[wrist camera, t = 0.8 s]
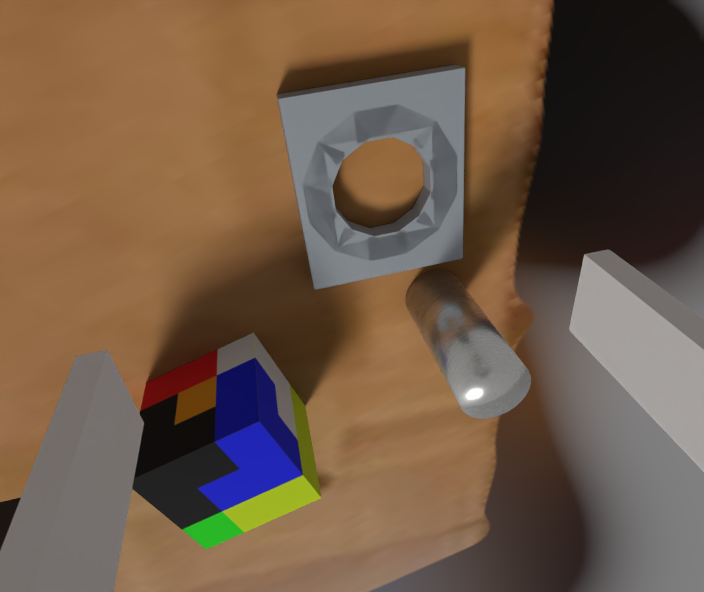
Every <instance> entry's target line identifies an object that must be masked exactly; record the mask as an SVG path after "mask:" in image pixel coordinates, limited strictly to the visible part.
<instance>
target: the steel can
mask: <svg viewBox="0 0 704 592" xmlns="http://www.w3.org/2000/svg"><path fill="white" fill-rule="evenodd" d="M405 301H406V306H407V308H408V310H409V312H410V314H411V316H412V318H413V320H414V321H415V323H416V325H417V327H418V329H419V331H420V333H421V334H422V336H423V338H424V340H425V342H426V344H427V346H428V347H429V349H430V351H431V353H432V355H433V357H434V358H435V360H436V362H437V364H438V366H439V368H440V370H441V371H442V373H443V375H444V377H445V379H446V381H447V383H448V384H449V386H450V388H451V390H452V392H453V394H454V395H455V397H456V399H457V401H458V403H459V405H460V407H461V408H462V410H463V411H464V412H465V413H466V414H467V415H469V416H471V417H474V418H481V419H483V418H492V417H496V416H499V415H501V414H504V413H506V412H508V411H509V410H511V409H512V408H514V407H515V406H516V405H518V403H520V402H521V401H522V400H523V398H524V397H525V395H526V394H527V392H528V390H529V387H530V384H531V376H530V373H529V371H528V370H527V368H526V367H525V366H524V365H523V363H522V362H521V360H520V359H519V358H518V357H517V355H516V354H515V353H514V351H513V350H512V349H511V347H510V346H509V345H508V343H507V342H506V341H505V339H504V338H503V337H502V336H501V334H500V333H499V332H498V330H497V329H496V328H495V326H494V325H493V324H492V322H491V321H490V320H489V319H488V317H487V316H486V315H485V313H484V312H483V311H482V309H481V308H480V307H479V305H478V304H477V303H476V302H475V300H474V299H473V298H472V296H471V295H470V294H469V292H468V291H467V290H466V288H465V287H464V286H463V285H462V283H461V282H460V281H459V279H458V278H457V277H456V276H455V275H454V274H453V273H451V272H449V271H446V270H432V271H429V272H426V273H424V274H422V275H421V276H419V277H418V278H416V279H415V280H414V281H413V282H412V284H411V285H410V287H409V288H408V290H407V293H406V300H405Z"/></svg>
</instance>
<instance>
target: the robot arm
mask: <svg viewBox="0 0 704 592" xmlns="http://www.w3.org/2000/svg"><path fill="white" fill-rule="evenodd" d="M569 330H570V331H571V332H572V333H573V335H574V336H575V337H576V338H577V339H578V340H579V341H580V342H581V343H582V344H583V345H584V346H585V347H586V348H587V349H588V350H589V351H590V352H591V353H592V355H593V356H594V357H595V358H596V359H597V360H598V361H599V362H600V363H601V364H602V365H603V366H604V367H605V368H606V369H607V370H608V371H609V372H610V373H611V375H612V376H613V377H615V379H616V380H617V381H618V382H619V383H620V384H621V385H622V386H623V387H624V388H625V389H626V390H627V391H628V393H629V394H630V395H631V396H632V397H633V398H634V399H635V400H636V401H637V402H638V403H639V404H640V405H641V406H642V407H643V408H644V409H645V411H646V412H647V413H648V414H649V415H650V416H651V417H652V418H653V419H654V420H655V421H656V422H657V423H658V424H659V425H660V426H661V427H662V428H663V429H664V431H665V432H666V433H668V435H669V436H670V437H671V438H672V439H673V440H674V441H675V442H676V443H677V444H678V445H679V446H680V447H681V448H682V450H683V451H684V452H685V453H686V454H687V455H688V456H689V457H690V458H691V459H692V460H693V461H694V462H695V463H696V464H697V465H698V466H699V467H700V468H701V470H702V471H703V472H704V319H703V318H701V317H700V316H699V315H697V314H696V313H695V312H693V311H692V310H690V309H689V308H688V307H686V306H685V305H684V304H682V303H681V302H680V301H678V300H677V299H676V298H674V297H673V296H672V295H670V294H669V293H667V292H666V291H665V290H663V289H662V288H661V287H659V286H658V285H656V284H655V283H654V282H652V281H651V280H650V279H648V278H647V277H646V276H644V275H643V274H642V273H640V272H639V271H638V270H636V269H635V268H633V267H632V266H630V265H629V264H628V263H627V262H625V261H624V260H622V259H621V258H620V257H618V256H617V255H616V254H614V253H613V252H612V251H610V250H604V251H599V252H594V253H590V254H585V255H584V259H583V264H582V269H581V274H580V279H579V283H578V288H577V293H576V299H575V303H574V308H573V313H572V318H571V323H570V328H569ZM143 426H144V422H143V420H142V418H141V416H140V414H139V412H138V410H137V408H136V406H135V404H134V402H133V400H132V398H131V396H130V394H129V392H128V390H127V388H126V386H125V384H124V382H123V380H122V378H121V376H120V374H119V372H118V370H117V368H116V366H115V364H114V362H113V360H112V358H111V356H110V354H109V352H108V350H105V351H100V352H95V353H90V354H85V355H80V356H76V358H75V360H74V363H73V365H72V368H71V370H70V373H69V376H68V378H67V381H66V383H65V386H64V388H63V391H62V394H61V396H60V399H59V401H58V404H57V406H56V409H55V412H54V414H53V417H52V419H51V422H50V424H49V427H48V430H47V432H46V435H45V437H44V440H43V442H42V445H41V448H40V450H39V453H38V455H37V458H36V460H35V463H34V466H33V468H32V471H31V473H30V476H29V478H28V481H27V484H26V486H25V489H24V491H23V494H22V496H21V498H17V499H13V500H8V501H4V502H0V592H113V591H114V585H115V580H116V574H117V569H118V563H119V558H120V552H121V547H122V541H123V536H124V530H125V525H126V519H127V514H128V508H129V503H130V497H131V492H132V487H133V481H134V476H135V470H136V465H137V459H138V454H139V448H140V443H141V437H142V432H143Z"/></svg>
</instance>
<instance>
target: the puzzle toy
mask: <svg viewBox="0 0 704 592" xmlns="http://www.w3.org/2000/svg"><path fill="white" fill-rule="evenodd" d="M140 416H141V418H142V420H143V422H144V426H143V432H142V437H141V443H140V448H139V454H138V459H137V465H136V470H135V476H134V481H133V487H132V489H133V490H135V491H136V492H137V493H138V494H139V495H141V496H142V497H143V498H144V499H146V500H147V501H148V502H149V503H150V504H152V505H153V506H154V507H155V508H156V509H158V510H159V511H160V512H161V513H163V514H164V515H165V516H166V517H167V518H169V519H170V520H171V521H172V522H174V523H175V524H176V525H177V526H178V527H180V528H181V529H182V530H183V531H184V532H186V533H187V534H188V535H189V536H191V537H192V538H193V539H194V540H195V541H197V542H198V543H199V544H200V545H201V546H203V547H204V548H205V549H208V548H210V547H213V546H215V545H217V544H219V543H222V542H224V541H226V540H228V539H231V538H233V537H235V536H237V535H240V534H242V533H244V532H246V531H248V530H251V529H253V528H255V527H257V526H260V525H262V524H264V523H266V522H269V521H271V520H273V519H275V518H278V517H280V516H282V515H284V514H287V513H289V512H291V511H293V510H295V509H298V508H300V507H302V506H304V505H307V504H309V503H311V502H313V501H316V500H318V499H320V498H321V493H320V487H319V481H318V476H317V470H316V464H315V459H314V453H313V447H312V442H311V436H310V430H309V425H308V419H307V413H306V407H305V405H304V404H303V402H302V401H301V399H300V398H299V397H298V395H297V394H296V392H295V391H294V389H293V388H292V387H291V385H290V384H289V382H288V381H287V379H286V378H285V377H284V375H283V374H282V372H281V371H280V370H279V368H278V367H277V365H276V364H275V362H274V361H273V360H272V358H271V357H270V355H269V354H268V352H267V351H266V350H265V348H264V347H263V345H262V344H261V342H260V341H259V340H258V338H257V337H256V335H255V334H254V333H251V334H249V335H247V336H245V337H243V338H241V339H239V340H236V341H234V342H232V343H230V344H228V345H226V346H224V347H222V348H219V349H217V350H215V351H213V352H211V353H209V354H207V355H204V356H202V357H200V358H198V359H196V360H194V361H192V362H189V363H187V364H185V365H183V366H181V367H179V368H177V369H175V370H172V371H170V372H168V373H166V374H164V375H162V376H160V377H157V378H155V379H153V380H151V381H149V382H147V383H146V387H145V391H144V396H143V401H142V406H141V410H140Z"/></svg>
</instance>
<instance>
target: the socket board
mask: <svg viewBox="0 0 704 592" xmlns="http://www.w3.org/2000/svg"><path fill="white" fill-rule="evenodd" d="M277 99H278V105H279V110H280V115H281V120H282V125H283V131H284V136H285V141H286V146H287V152H288V157H289V162H290V167H291V173H292V178H293V183H294V188H295V194H296V199H297V204H298V209H299V215H300V220H301V225H302V230H303V236H304V241H305V246H306V251H307V257H308V262H309V267H310V272H311V277H312V282H313V286H314V289H315V290H316V289H321V288H326V287H330V286H335V285H340V284H344V283H349V282H354V281H359V280H363V279H368V278H373V277H378V276H382V275H387V274H392V273H397V272H401V271H406V270H411V269H416V268H420V267H425V266H430V265H434V264H439V263H444V262H449V261H453V260H458V259H463V203H464V121H465V68H464V67H462V66H459V65H450V66H444V67H438V68H432V69H426V70H420V71H414V72H408V73H402V74H396V75H390V76H384V77H378V78H372V79H366V80H360V81H354V82H348V83H342V84H336V85H330V86H324V87H318V88H312V89H306V90H300V91H294V92H288V93H282V94H277ZM389 137H394V138H396V139H399V140H401V141H404V142H406V143H408V144H411V145H413V147H414V148H415V149H416V151H417V152H418V154H419V155H420V157H421V158H422V160H423V171H424V186H423V189H422V191H421V193H420V195H419V197H418V199H417V201H416V203H415V205H414V207H413V208H412V209H411V210H410V211H408V212H407V213H406V214H404V215H403V216H402V217H401V218H399V219H398V220H397V221H395V222H394V223H392V224H387V225H382V226H377V227H372V228H368V227H365V226H362V225H359V224H356V223H353V222H349V221H347V220H346V219H345V217H344V216H343V215H342V214H341V213H340V212H339V210H338V209H337V208H336V207H335V201H334V195H333V188H332V185H333V183H334V180H335V178H336V175H337V173H338V170H339V168H340V165H341V163H342V160H343V159H345V158H346V157H347V156H348V155H349V154H351V153H352V152H353V151H354V150H356V149H357V148H358V147H359V146H360V145H362V144H363V143H364V142H367V141H372V140H378V139H383V138H389Z"/></svg>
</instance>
